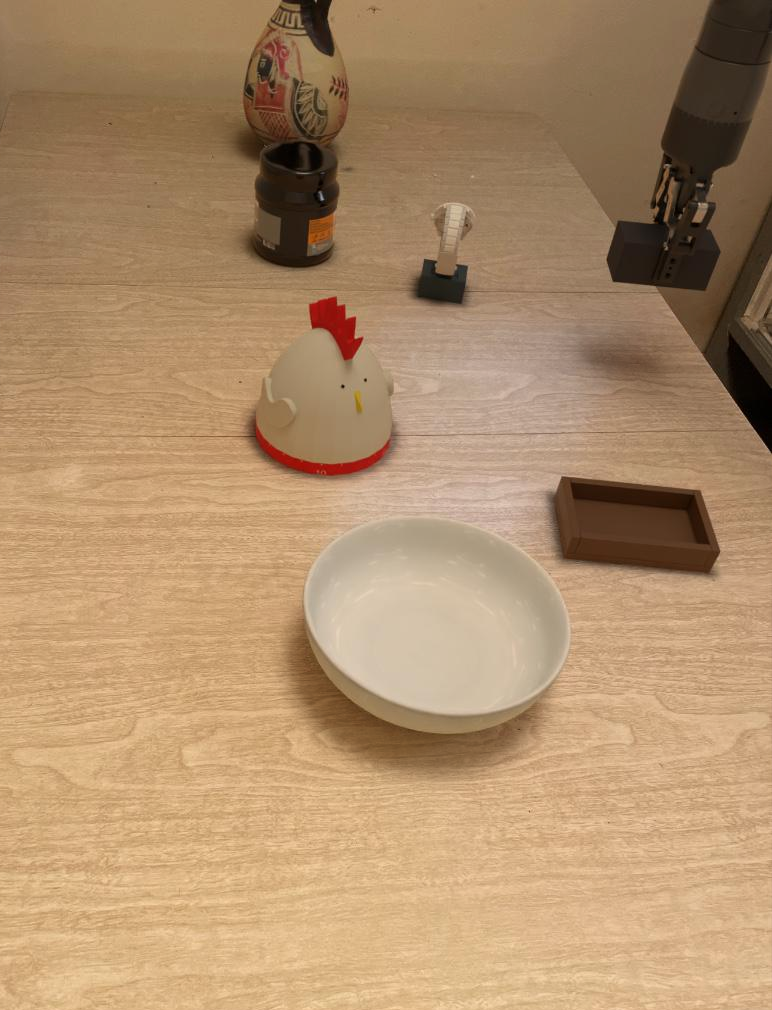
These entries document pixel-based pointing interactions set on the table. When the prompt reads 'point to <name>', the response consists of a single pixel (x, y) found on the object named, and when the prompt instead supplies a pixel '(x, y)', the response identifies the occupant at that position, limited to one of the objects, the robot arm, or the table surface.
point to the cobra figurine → (447, 255)
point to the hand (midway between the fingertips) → (656, 269)
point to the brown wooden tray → (635, 524)
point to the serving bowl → (435, 623)
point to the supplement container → (296, 203)
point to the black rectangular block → (640, 252)
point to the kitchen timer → (326, 399)
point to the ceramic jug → (296, 77)
